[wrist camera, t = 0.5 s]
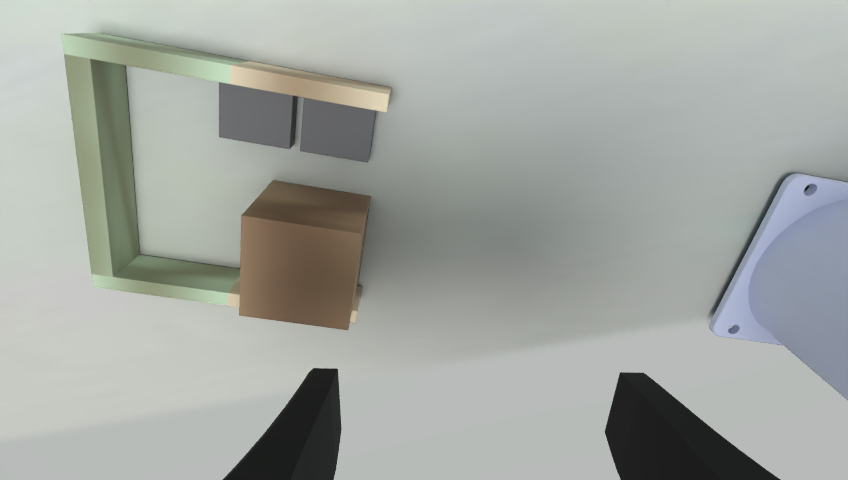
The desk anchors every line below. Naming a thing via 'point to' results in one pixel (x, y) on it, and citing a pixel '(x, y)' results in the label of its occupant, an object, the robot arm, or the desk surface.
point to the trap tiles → (276, 119)
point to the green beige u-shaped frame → (113, 167)
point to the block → (302, 254)
